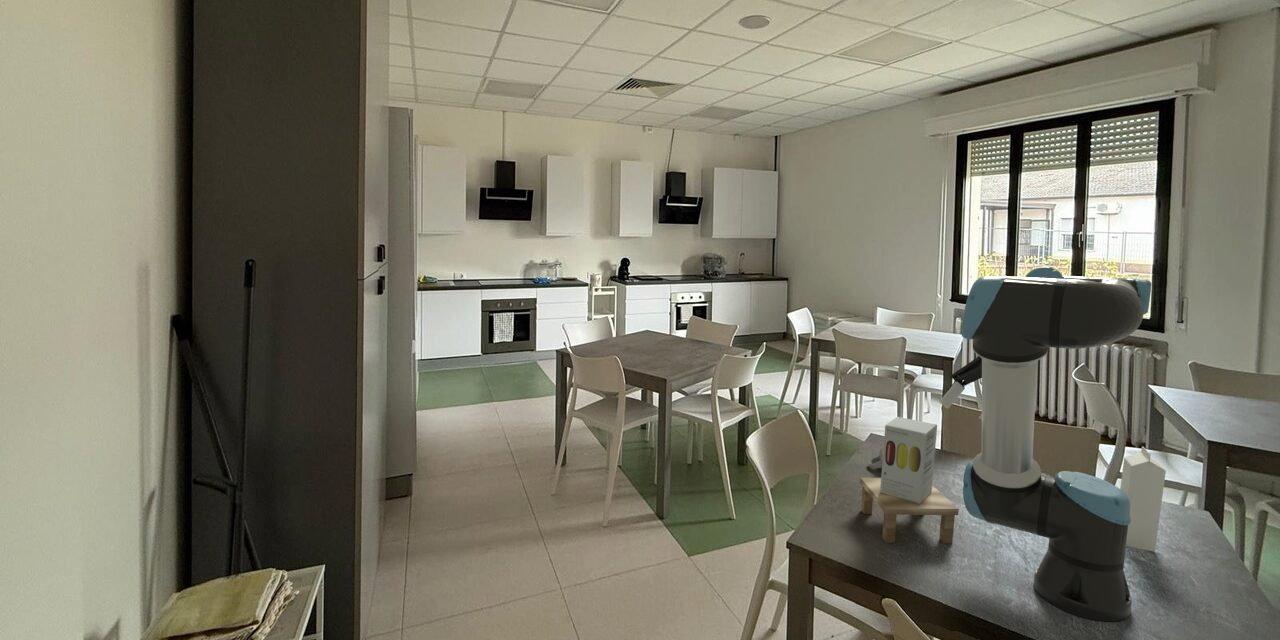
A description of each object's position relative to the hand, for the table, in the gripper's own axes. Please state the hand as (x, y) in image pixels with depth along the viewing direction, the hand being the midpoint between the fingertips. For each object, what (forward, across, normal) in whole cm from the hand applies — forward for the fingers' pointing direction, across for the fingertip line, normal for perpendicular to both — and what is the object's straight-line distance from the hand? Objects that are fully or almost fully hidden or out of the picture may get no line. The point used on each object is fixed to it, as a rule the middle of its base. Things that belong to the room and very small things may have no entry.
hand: (962, 413), depth 141 cm
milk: (-1, -15, -44) cm, 47 cm away
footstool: (+29, +1, -8) cm, 30 cm away
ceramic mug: (+19, +34, -20) cm, 43 cm away
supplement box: (+23, +1, -2) cm, 23 cm away
